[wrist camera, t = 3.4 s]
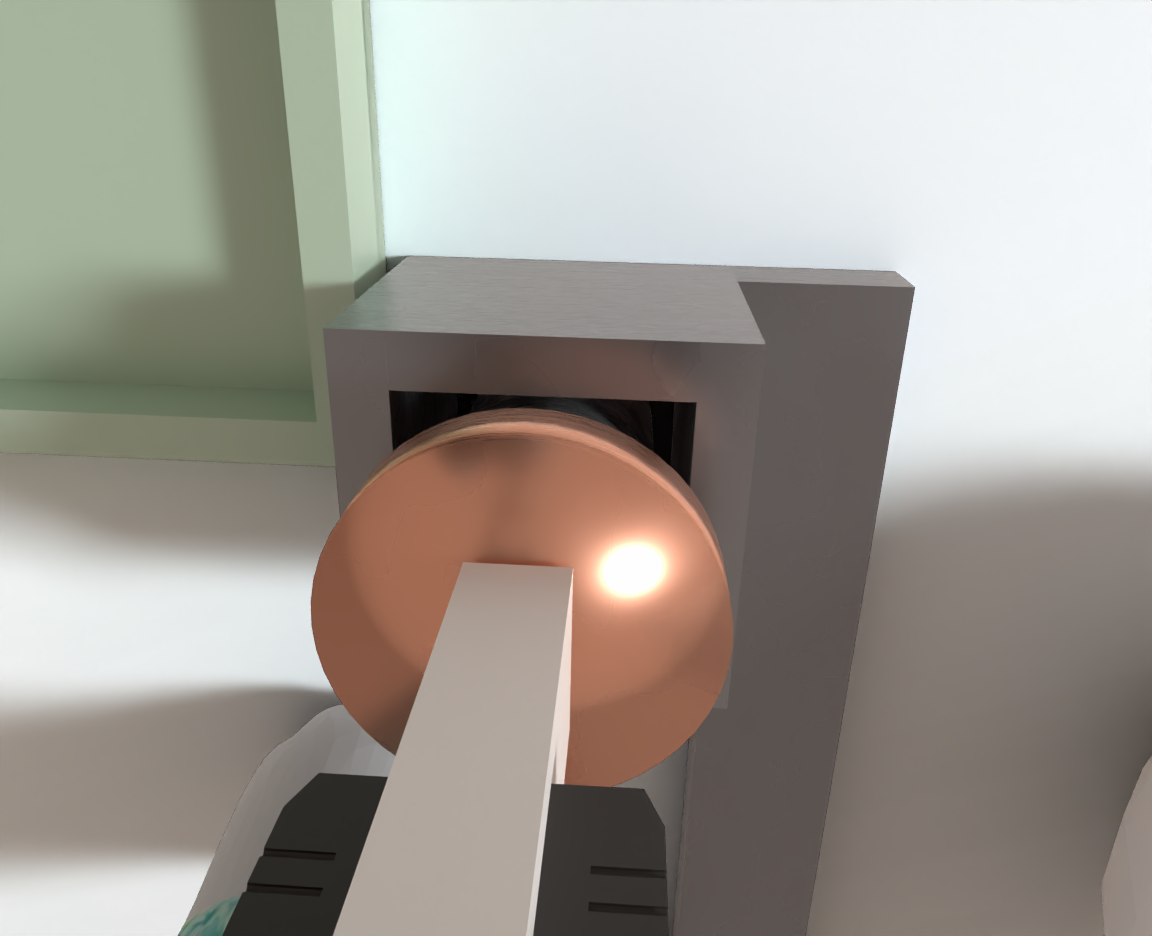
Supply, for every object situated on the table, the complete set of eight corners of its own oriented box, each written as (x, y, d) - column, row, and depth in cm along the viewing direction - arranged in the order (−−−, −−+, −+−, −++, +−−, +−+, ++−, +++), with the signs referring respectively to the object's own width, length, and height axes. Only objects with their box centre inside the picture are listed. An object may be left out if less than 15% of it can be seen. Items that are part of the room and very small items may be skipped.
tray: (-336, -256, 17) (-485, -303, 15) (353, -251, 17) (308, -301, 14) (-134, 404, 22) (-221, 442, 20) (395, 426, 22) (367, 468, 20)
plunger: (423, 288, 20) (289, 430, 12) (708, 298, 19) (753, 449, 12) (434, 540, 22) (329, 787, 14) (688, 551, 22) (715, 810, 14)
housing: (407, 255, 20) (322, 328, 15) (895, 271, 20) (995, 352, 14) (452, 1103, 32) (414, 1319, 26) (759, 1126, 31) (785, 1351, 26)
